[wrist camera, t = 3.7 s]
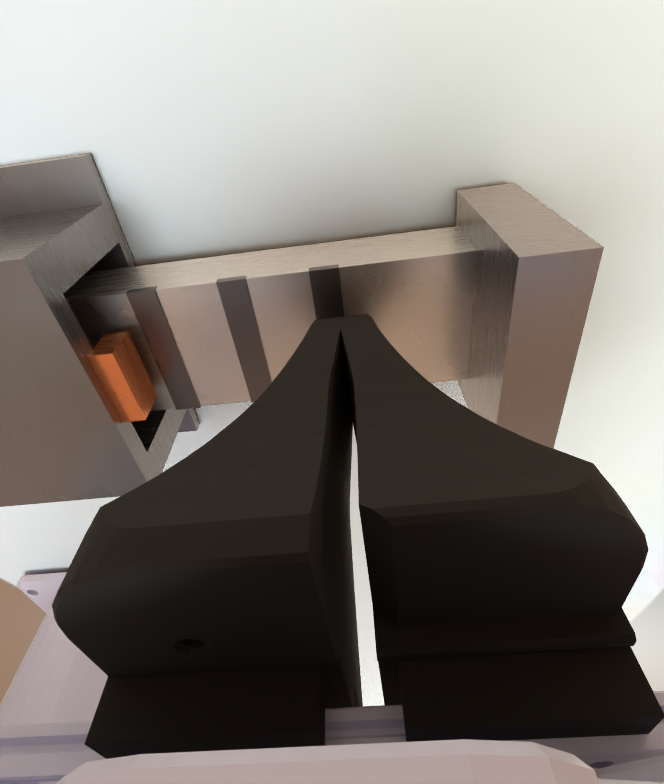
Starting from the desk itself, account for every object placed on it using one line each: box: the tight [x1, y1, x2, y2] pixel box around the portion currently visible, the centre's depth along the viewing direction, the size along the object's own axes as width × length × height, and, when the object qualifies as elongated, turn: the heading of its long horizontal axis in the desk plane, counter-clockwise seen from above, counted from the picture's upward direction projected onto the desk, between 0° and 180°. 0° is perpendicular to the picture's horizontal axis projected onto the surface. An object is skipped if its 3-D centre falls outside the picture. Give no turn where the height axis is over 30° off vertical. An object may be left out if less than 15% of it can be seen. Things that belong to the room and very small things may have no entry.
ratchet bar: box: [63, 183, 604, 448], centre depth 12 cm, size 5×19×5 cm, turn 97°
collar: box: [0, 153, 200, 507], centre depth 12 cm, size 9×9×4 cm
